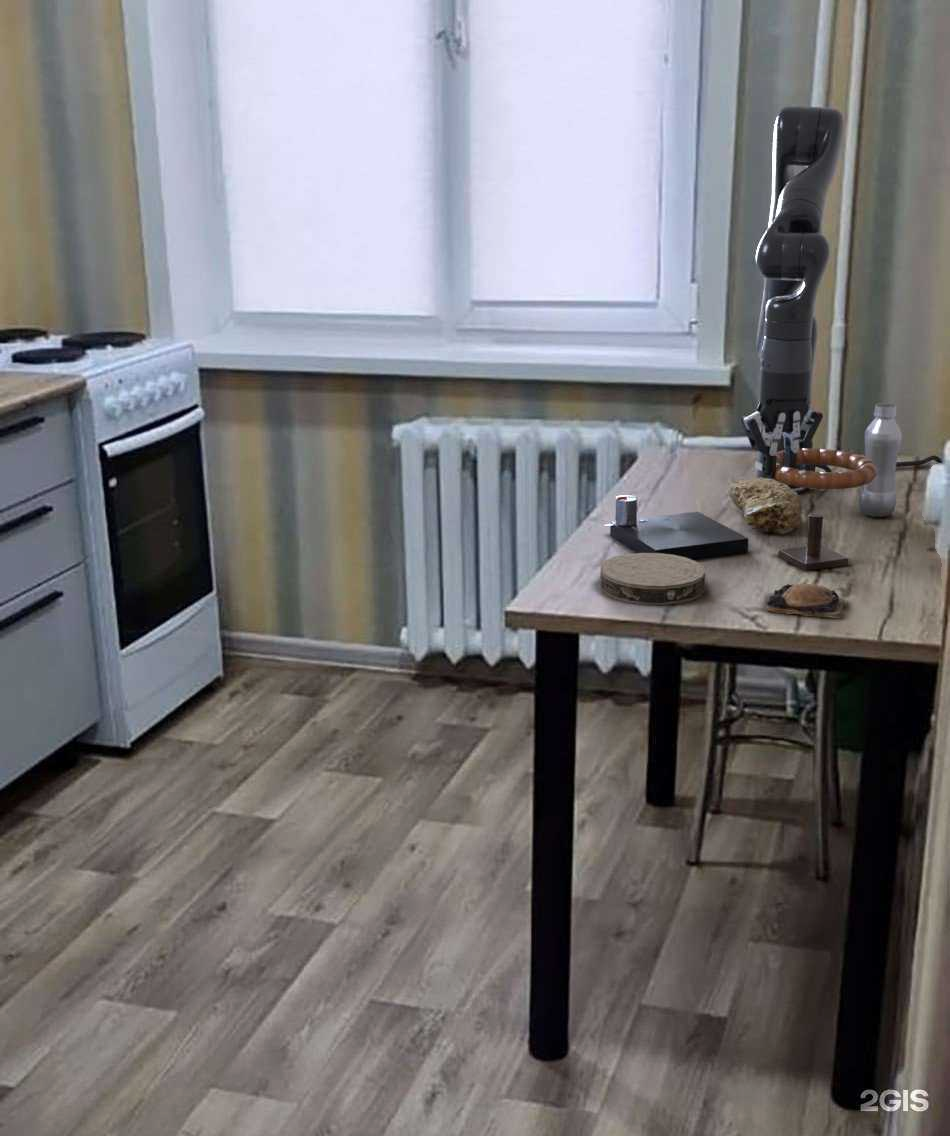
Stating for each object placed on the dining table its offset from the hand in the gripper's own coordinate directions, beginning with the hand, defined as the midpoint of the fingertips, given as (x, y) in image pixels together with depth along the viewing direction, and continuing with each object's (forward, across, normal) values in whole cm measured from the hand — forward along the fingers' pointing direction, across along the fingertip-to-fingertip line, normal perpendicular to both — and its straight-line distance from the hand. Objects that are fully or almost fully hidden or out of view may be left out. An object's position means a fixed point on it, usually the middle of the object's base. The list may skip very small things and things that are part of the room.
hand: (778, 475), depth 213 cm
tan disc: (+15, -23, -2) cm, 27 cm away
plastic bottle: (+15, +32, +18) cm, 40 cm away
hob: (+15, -10, +17) cm, 24 cm away
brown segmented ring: (-1, +7, 0) cm, 7 cm away
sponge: (+15, +12, +23) cm, 30 cm away
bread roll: (+15, -6, -18) cm, 24 cm away
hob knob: (+12, -15, +22) cm, 30 cm away
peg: (+15, +7, 0) cm, 17 cm away
